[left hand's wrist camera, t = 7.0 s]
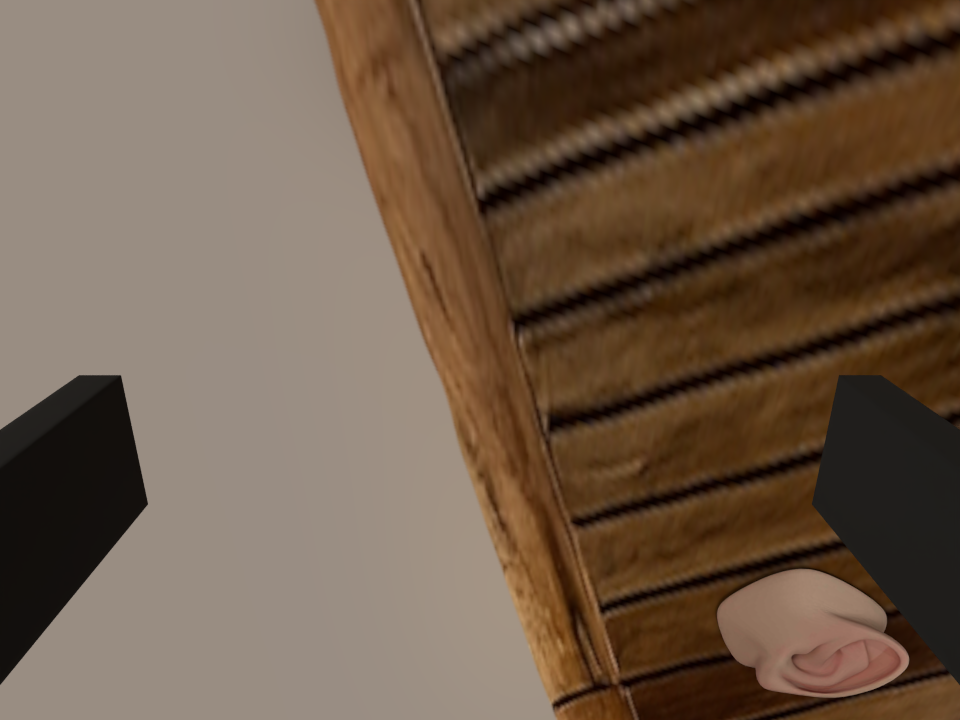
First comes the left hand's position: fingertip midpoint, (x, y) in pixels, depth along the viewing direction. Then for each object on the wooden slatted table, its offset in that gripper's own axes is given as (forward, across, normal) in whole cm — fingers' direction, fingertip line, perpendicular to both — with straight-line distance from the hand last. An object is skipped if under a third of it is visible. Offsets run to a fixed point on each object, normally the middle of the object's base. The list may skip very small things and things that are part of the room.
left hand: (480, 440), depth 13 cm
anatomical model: (+33, +26, -35) cm, 55 cm away
